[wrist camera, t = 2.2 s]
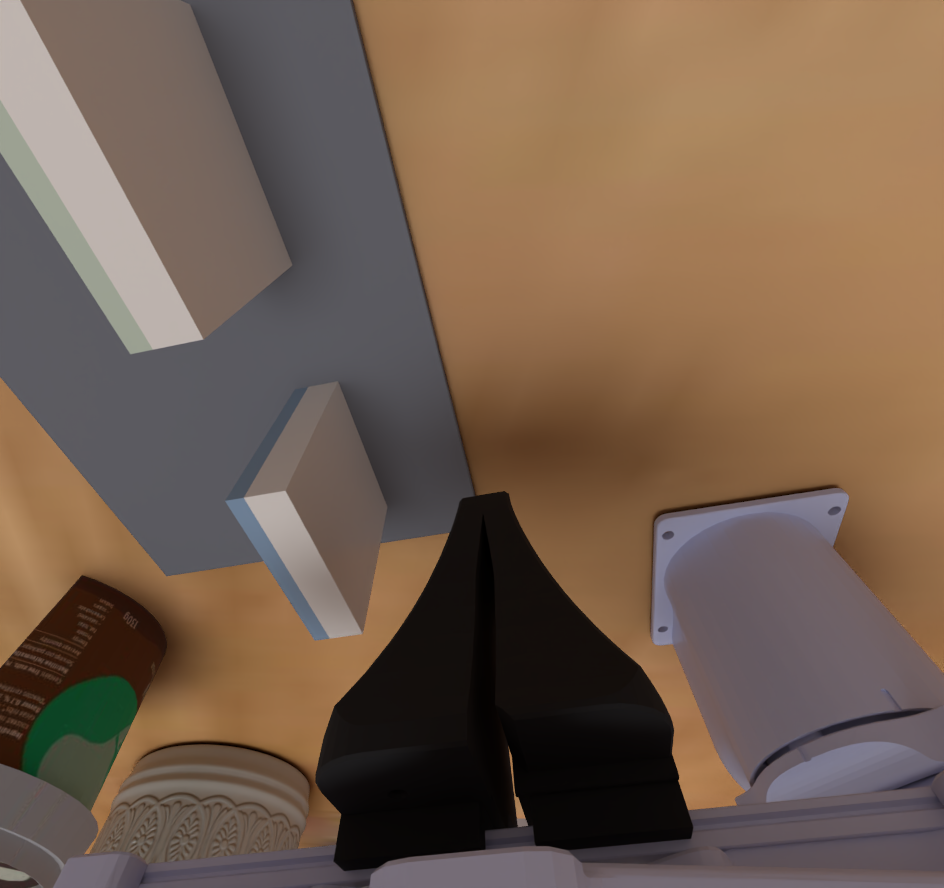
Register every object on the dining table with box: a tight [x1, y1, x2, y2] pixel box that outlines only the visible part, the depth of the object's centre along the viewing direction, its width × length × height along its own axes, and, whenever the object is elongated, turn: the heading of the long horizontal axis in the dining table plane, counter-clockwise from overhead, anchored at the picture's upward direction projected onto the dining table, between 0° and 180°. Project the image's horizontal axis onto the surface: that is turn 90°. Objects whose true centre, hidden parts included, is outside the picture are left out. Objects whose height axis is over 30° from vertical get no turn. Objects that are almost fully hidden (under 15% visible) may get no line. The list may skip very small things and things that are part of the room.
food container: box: [0, 576, 167, 888], centre depth 22 cm, size 12×6×10 cm, turn 146°
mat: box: [0, 0, 475, 576], centre depth 16 cm, size 21×15×1 cm
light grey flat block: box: [225, 381, 387, 640], centre depth 16 cm, size 6×2×6 cm, turn 11°
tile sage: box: [0, 0, 292, 354], centre depth 10 cm, size 6×2×6 cm, turn 11°
